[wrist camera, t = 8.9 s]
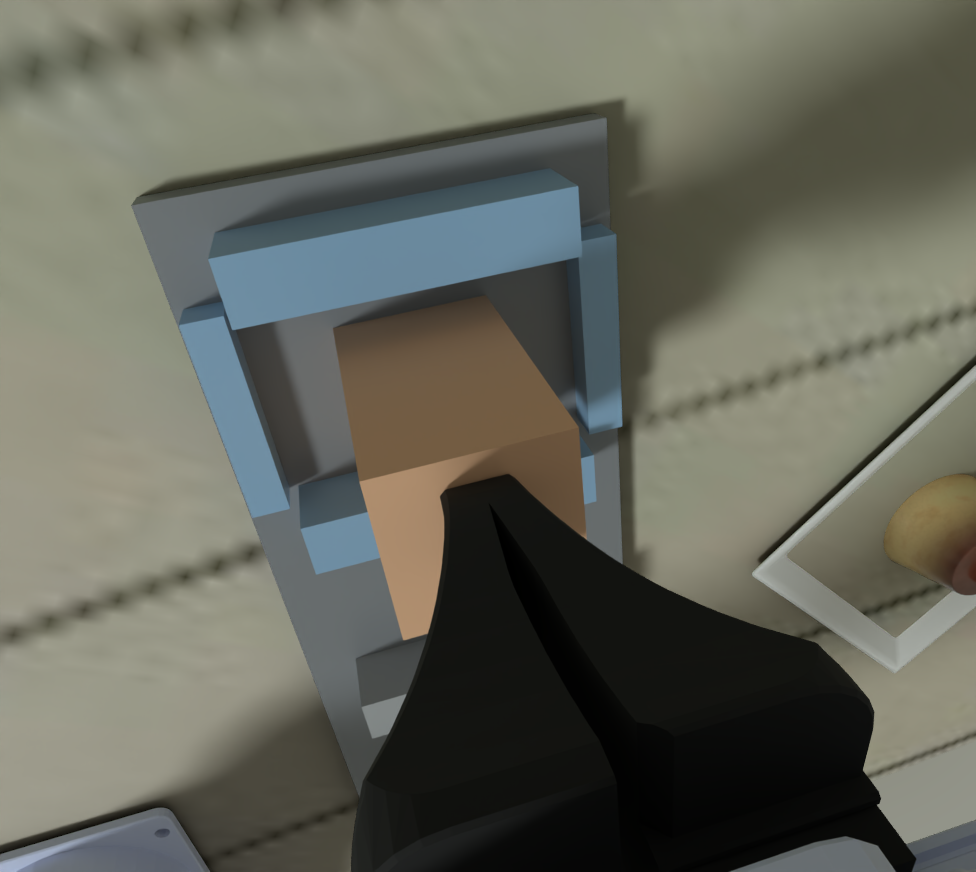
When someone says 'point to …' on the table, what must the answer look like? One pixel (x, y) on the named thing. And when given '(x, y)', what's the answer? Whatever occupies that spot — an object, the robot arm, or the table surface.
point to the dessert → (897, 555)
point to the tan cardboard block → (447, 433)
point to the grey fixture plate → (371, 295)
